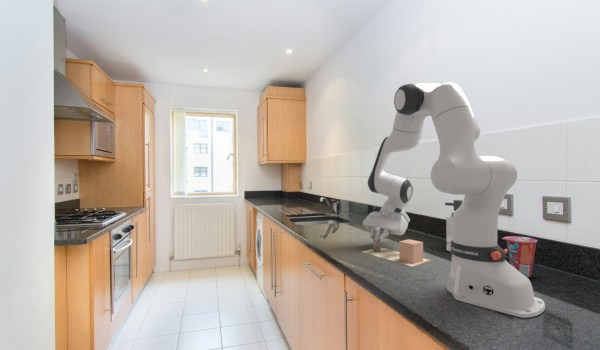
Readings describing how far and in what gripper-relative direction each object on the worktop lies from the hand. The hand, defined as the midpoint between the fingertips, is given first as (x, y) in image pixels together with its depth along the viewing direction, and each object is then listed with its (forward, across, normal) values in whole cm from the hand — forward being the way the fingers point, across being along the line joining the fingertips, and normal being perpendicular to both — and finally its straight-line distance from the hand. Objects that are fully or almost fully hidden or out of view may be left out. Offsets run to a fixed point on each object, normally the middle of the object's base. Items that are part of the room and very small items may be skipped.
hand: (375, 238), depth 122 cm
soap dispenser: (-18, +16, +28) cm, 37 cm away
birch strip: (+4, +9, +5) cm, 11 cm away
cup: (-9, +44, +19) cm, 49 cm away
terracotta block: (+3, +16, +4) cm, 17 cm away
